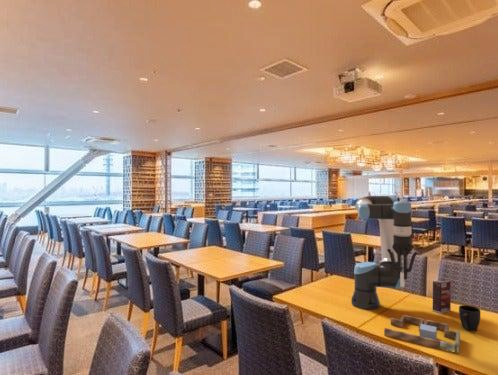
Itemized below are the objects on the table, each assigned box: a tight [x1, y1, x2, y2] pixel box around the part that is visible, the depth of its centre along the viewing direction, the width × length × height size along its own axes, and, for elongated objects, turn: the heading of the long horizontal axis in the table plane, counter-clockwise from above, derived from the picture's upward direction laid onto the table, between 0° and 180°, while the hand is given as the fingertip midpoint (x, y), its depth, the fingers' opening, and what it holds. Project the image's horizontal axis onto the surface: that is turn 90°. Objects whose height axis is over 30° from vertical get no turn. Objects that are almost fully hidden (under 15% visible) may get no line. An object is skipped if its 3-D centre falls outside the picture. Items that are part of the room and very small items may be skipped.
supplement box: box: [432, 279, 452, 314], centre depth 170 cm, size 9×5×16 cm, turn 116°
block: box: [419, 324, 438, 340], centre depth 140 cm, size 6×6×5 cm
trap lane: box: [383, 314, 461, 354], centre depth 144 cm, size 28×21×4 cm
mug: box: [458, 304, 481, 332], centre depth 148 cm, size 8×12×10 cm
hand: (402, 285), depth 148 cm, fingers closed
